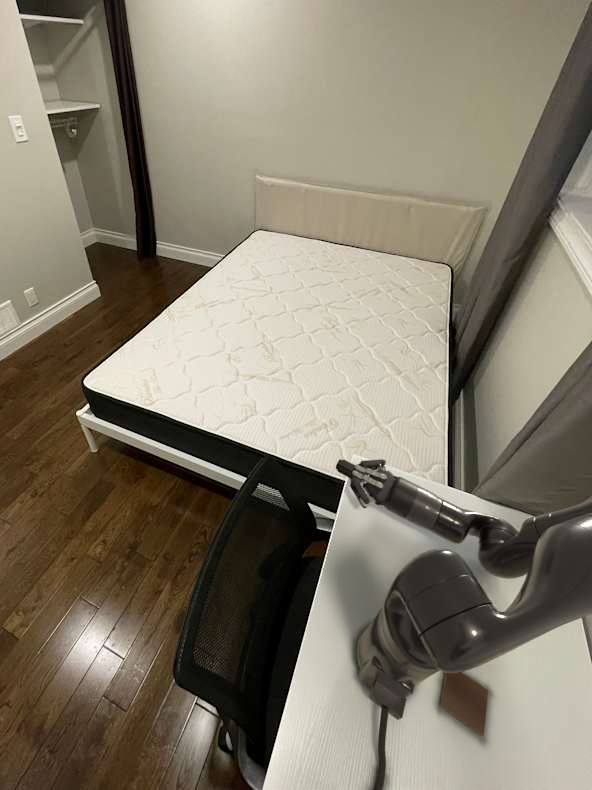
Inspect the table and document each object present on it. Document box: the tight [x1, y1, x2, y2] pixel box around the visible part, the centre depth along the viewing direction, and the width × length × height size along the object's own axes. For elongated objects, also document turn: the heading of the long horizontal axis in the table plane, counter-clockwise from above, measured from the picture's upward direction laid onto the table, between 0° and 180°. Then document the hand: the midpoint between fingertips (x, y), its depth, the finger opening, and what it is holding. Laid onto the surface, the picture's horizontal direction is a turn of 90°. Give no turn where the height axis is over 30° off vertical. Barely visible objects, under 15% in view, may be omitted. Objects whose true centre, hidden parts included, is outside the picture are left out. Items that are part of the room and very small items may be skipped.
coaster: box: [439, 672, 489, 737], centre depth 58 cm, size 6×6×1 cm
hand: (337, 463), depth 84 cm, fingers closed
